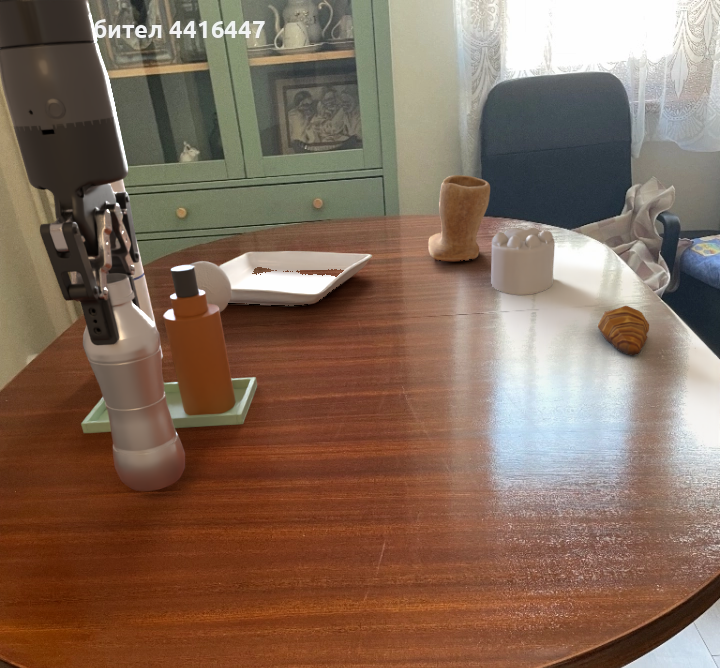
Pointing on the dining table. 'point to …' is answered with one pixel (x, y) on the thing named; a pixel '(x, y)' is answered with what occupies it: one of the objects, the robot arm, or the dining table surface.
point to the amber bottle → (198, 347)
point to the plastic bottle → (136, 395)
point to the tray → (235, 415)
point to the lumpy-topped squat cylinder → (522, 261)
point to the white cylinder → (213, 283)
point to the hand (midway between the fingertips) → (118, 329)
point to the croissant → (625, 329)
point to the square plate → (288, 276)
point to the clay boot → (459, 218)
